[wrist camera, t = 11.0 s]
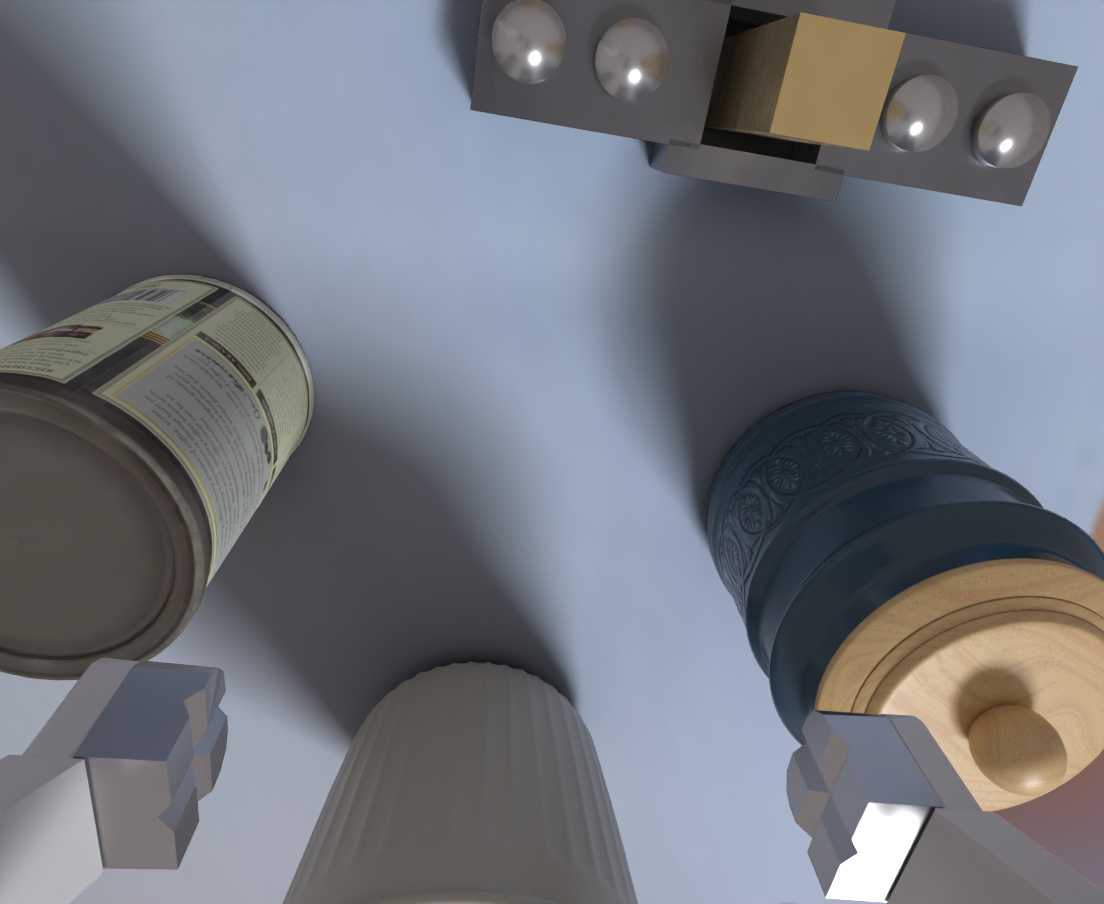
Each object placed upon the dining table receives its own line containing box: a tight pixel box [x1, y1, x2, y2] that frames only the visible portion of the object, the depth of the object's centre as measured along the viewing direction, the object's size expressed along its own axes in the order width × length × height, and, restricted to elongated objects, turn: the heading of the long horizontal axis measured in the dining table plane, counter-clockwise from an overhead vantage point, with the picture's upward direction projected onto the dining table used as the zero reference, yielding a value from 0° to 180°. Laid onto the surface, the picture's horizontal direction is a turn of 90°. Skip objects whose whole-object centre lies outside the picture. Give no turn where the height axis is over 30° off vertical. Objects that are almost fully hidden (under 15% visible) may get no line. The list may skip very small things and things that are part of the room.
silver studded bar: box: [470, 0, 1078, 206], centre depth 28 cm, size 7×22×4 cm, turn 81°
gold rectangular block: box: [704, 12, 906, 151], centre depth 26 cm, size 3×3×9 cm
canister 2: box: [707, 391, 1104, 812], centre depth 30 cm, size 13×13×18 cm
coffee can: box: [0, 274, 314, 680], centre depth 28 cm, size 10×10×14 cm
